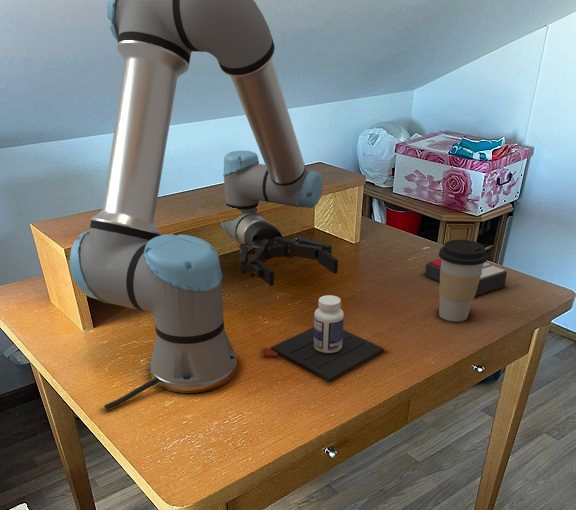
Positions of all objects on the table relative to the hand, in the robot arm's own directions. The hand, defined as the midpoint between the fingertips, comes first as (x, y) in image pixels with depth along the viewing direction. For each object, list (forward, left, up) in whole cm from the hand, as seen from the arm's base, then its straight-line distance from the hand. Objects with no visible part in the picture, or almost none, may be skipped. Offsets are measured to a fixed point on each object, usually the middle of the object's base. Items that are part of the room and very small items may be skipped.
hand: (304, 272), depth 113 cm
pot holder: (-4, -9, -12) cm, 16 cm away
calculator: (+44, -9, -12) cm, 47 cm away
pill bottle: (-3, -9, -11) cm, 15 cm away
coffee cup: (+27, -17, -12) cm, 34 cm away
